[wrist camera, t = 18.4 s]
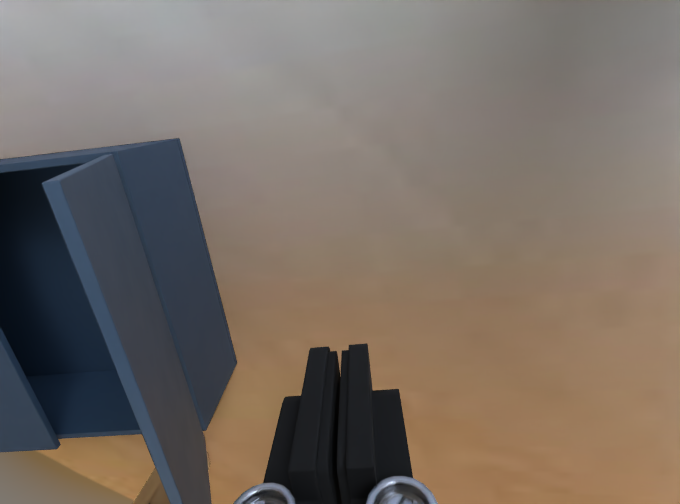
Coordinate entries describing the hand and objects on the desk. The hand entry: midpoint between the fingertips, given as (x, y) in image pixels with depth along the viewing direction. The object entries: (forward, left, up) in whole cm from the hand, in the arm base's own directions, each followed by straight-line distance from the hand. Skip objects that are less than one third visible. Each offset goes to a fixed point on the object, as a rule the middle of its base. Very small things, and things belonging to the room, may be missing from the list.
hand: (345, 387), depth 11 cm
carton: (0, -15, -10) cm, 18 cm away
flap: (0, -6, -1) cm, 6 cm away
